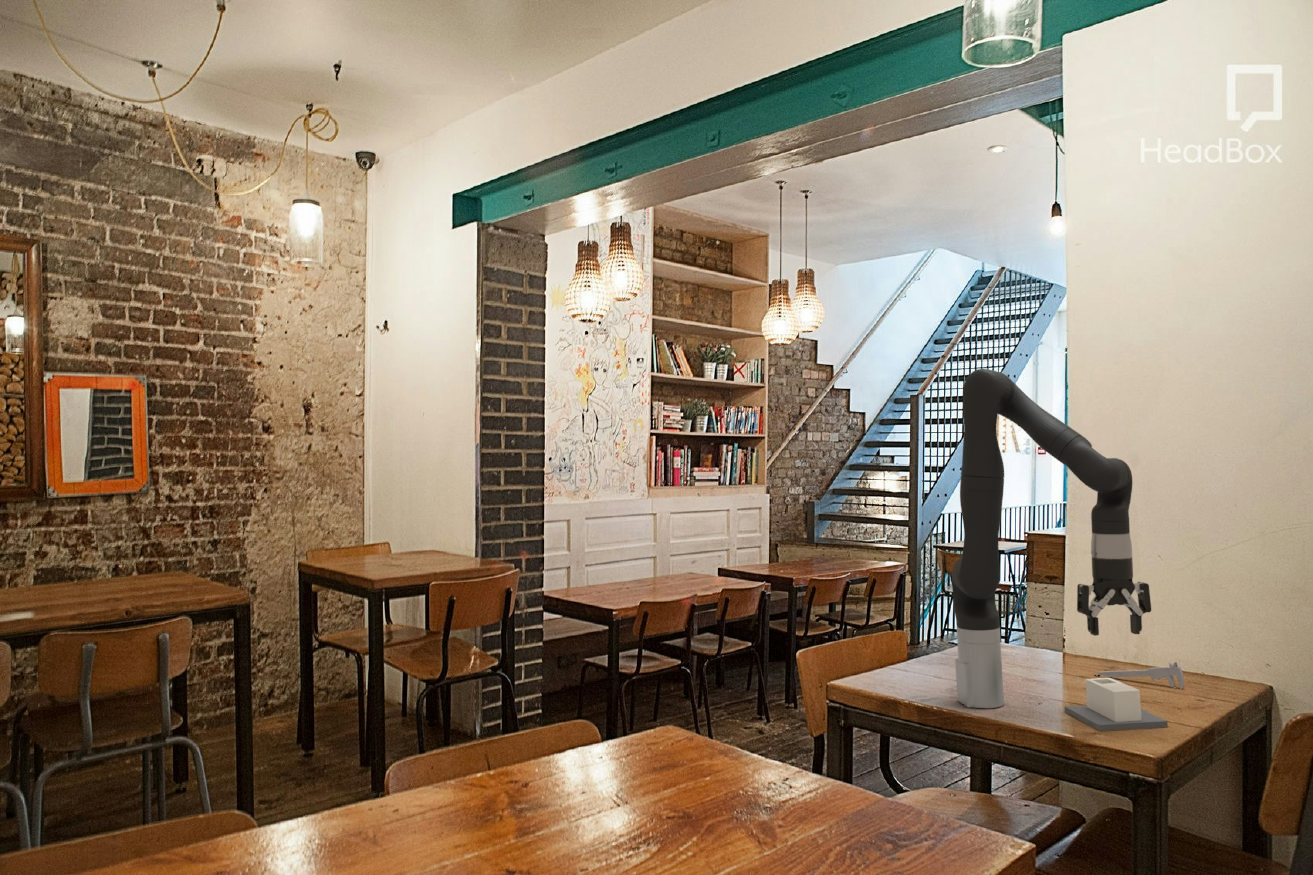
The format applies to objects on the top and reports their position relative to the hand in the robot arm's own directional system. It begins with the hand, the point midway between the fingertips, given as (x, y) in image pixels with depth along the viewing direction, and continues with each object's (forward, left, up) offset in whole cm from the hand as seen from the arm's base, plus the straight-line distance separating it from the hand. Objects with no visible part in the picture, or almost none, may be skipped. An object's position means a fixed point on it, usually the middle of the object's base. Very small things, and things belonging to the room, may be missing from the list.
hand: (1115, 634), depth 186 cm
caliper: (+21, +30, -19) cm, 41 cm away
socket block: (0, +3, -17) cm, 17 cm away
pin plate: (0, +3, -18) cm, 18 cm away
